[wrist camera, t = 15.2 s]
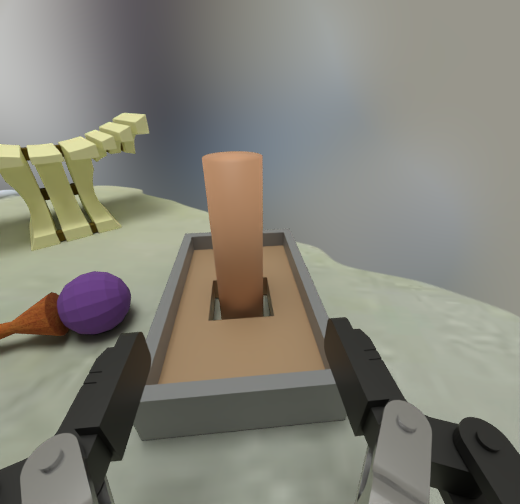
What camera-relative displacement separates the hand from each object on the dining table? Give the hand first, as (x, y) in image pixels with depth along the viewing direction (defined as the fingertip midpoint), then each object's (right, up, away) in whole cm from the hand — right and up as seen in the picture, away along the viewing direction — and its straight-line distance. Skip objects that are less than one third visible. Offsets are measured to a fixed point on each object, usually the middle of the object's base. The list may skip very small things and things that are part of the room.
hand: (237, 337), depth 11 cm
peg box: (-1, -3, +16) cm, 16 cm away
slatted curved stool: (-34, +9, +37) cm, 51 cm away
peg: (-1, -3, +16) cm, 16 cm away
